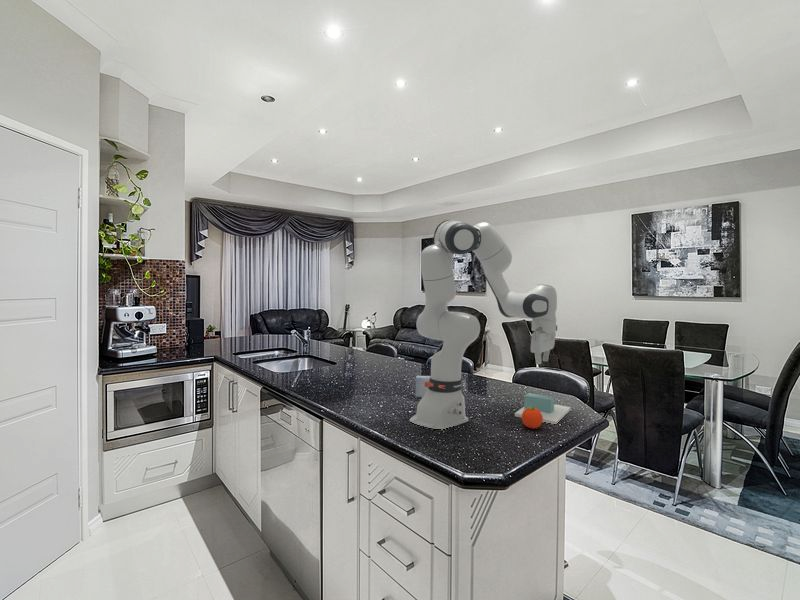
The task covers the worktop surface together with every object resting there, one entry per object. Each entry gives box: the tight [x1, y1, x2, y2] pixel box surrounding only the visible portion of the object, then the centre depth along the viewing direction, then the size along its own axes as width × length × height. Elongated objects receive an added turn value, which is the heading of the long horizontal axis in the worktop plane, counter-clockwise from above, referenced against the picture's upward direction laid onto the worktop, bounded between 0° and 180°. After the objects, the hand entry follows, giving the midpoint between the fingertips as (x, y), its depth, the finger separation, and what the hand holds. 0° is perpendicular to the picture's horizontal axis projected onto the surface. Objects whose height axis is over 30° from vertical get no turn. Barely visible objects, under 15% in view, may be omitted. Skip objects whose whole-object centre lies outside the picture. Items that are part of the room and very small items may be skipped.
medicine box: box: [414, 375, 431, 398], centre depth 172 cm, size 8×4×9 cm, turn 84°
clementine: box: [521, 407, 543, 429], centre depth 136 cm, size 8×7×7 cm
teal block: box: [523, 392, 555, 413], centre depth 153 cm, size 5×5×10 cm
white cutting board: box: [514, 403, 571, 425], centre depth 152 cm, size 22×15×1 cm
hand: (542, 362), depth 152 cm, fingers open, 8 cm apart
